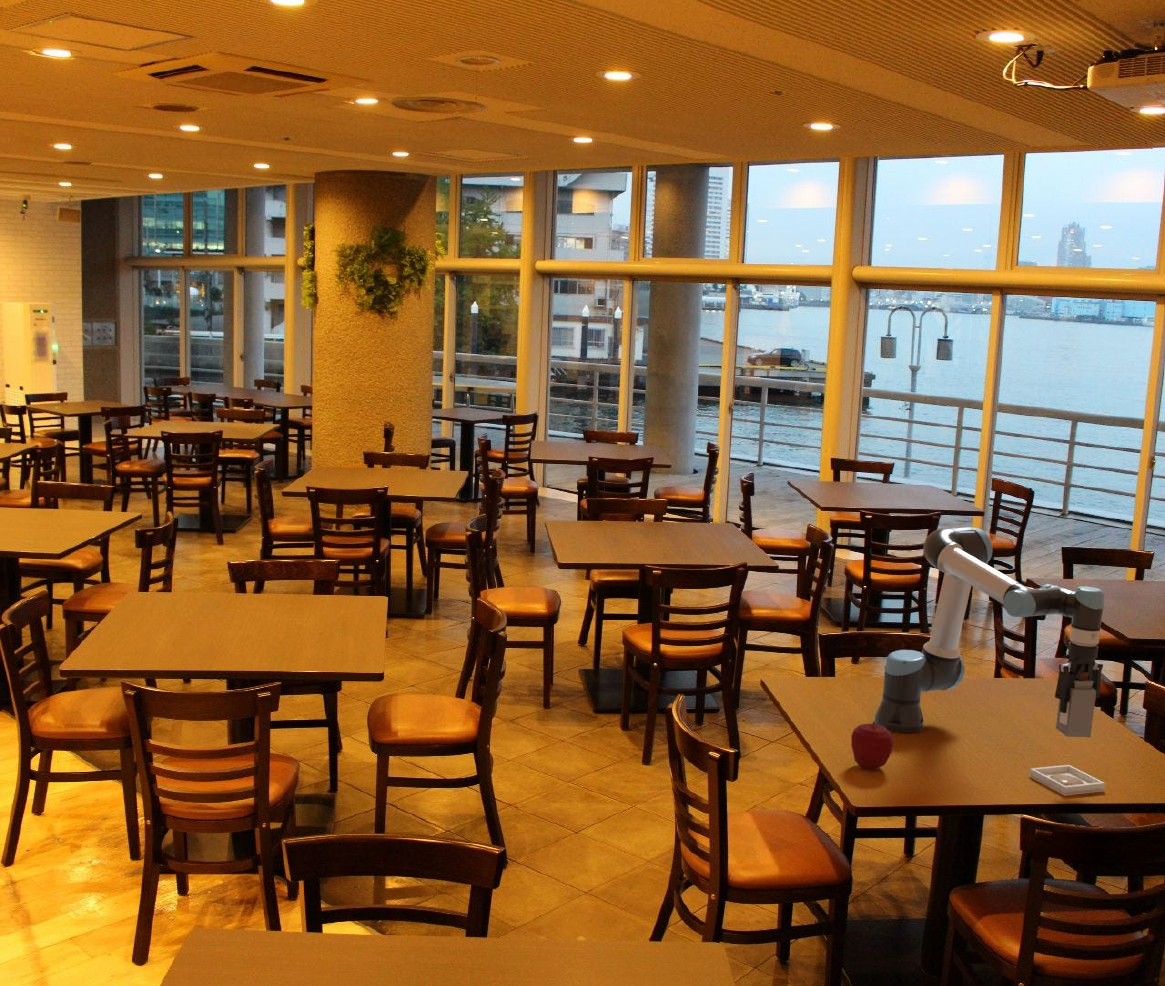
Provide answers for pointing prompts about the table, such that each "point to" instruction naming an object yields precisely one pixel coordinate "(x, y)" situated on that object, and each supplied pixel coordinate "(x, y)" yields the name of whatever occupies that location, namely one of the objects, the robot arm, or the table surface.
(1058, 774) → the tray
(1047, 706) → the table surface
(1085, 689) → the perfume bottle
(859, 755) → the apple
